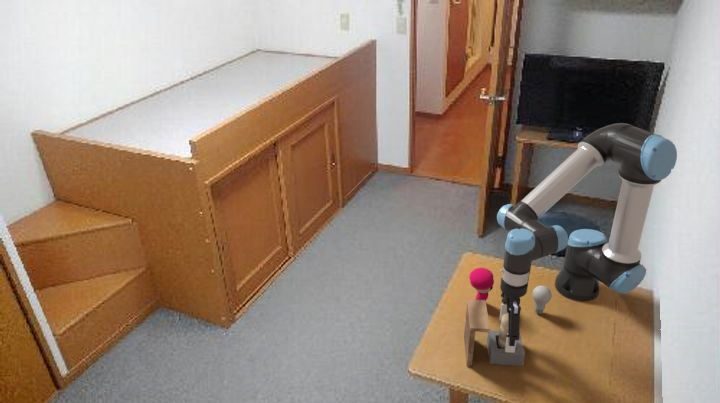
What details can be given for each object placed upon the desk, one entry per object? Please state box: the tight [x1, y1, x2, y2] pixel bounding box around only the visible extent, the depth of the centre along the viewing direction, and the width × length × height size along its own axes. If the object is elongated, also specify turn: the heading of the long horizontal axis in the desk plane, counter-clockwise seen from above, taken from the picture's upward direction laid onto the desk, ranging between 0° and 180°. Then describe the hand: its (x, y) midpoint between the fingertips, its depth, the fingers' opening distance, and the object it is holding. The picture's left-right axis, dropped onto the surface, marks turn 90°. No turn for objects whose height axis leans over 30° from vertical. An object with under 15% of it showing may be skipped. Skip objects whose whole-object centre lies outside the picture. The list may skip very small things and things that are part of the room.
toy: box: [469, 267, 495, 302], centre depth 186 cm, size 8×8×15 cm
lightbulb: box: [531, 285, 553, 315], centre depth 183 cm, size 6×6×11 cm
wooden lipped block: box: [463, 298, 491, 367], centre depth 167 cm, size 6×13×15 cm, turn 174°
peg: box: [497, 314, 508, 349], centre depth 167 cm, size 4×4×14 cm
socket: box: [486, 330, 526, 367], centre depth 169 cm, size 10×10×4 cm
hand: (506, 335), depth 166 cm, fingers open, 13 cm apart
